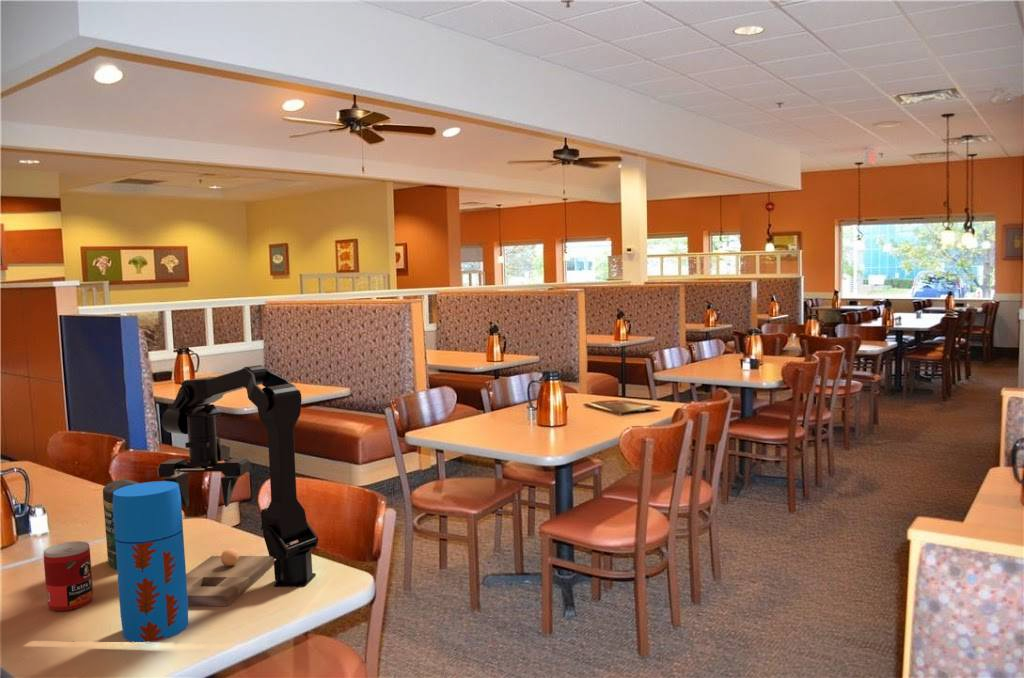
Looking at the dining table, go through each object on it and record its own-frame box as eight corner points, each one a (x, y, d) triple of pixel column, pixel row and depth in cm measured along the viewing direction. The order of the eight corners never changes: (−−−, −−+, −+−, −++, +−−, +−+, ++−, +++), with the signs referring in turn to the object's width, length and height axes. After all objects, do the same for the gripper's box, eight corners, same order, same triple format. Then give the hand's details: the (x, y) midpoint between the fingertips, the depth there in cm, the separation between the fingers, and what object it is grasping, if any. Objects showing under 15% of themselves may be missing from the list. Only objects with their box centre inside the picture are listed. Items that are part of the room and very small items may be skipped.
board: (274, 565, 172) (274, 555, 172) (227, 606, 150) (227, 595, 150) (212, 565, 174) (211, 555, 173) (156, 605, 152) (156, 595, 152)
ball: (242, 562, 168) (241, 546, 168) (234, 568, 165) (233, 551, 165) (226, 562, 169) (225, 546, 168) (218, 568, 165) (217, 551, 165)
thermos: (136, 618, 146) (126, 482, 144) (197, 614, 147) (188, 479, 145) (111, 645, 135) (101, 498, 134) (177, 640, 136) (167, 494, 134)
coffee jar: (103, 564, 177) (97, 481, 176) (141, 555, 182) (136, 474, 181) (116, 575, 169) (109, 488, 168) (155, 565, 175) (149, 481, 173)
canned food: (74, 612, 150) (69, 554, 149) (37, 610, 152) (32, 553, 151) (102, 596, 158) (98, 541, 157) (67, 595, 159) (63, 540, 159)
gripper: (259, 428, 182) (263, 496, 183) (180, 429, 184) (185, 497, 185) (237, 437, 171) (241, 510, 172) (153, 439, 173) (158, 510, 174)
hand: (206, 506), depth 176 cm, fingers open, 9 cm apart
